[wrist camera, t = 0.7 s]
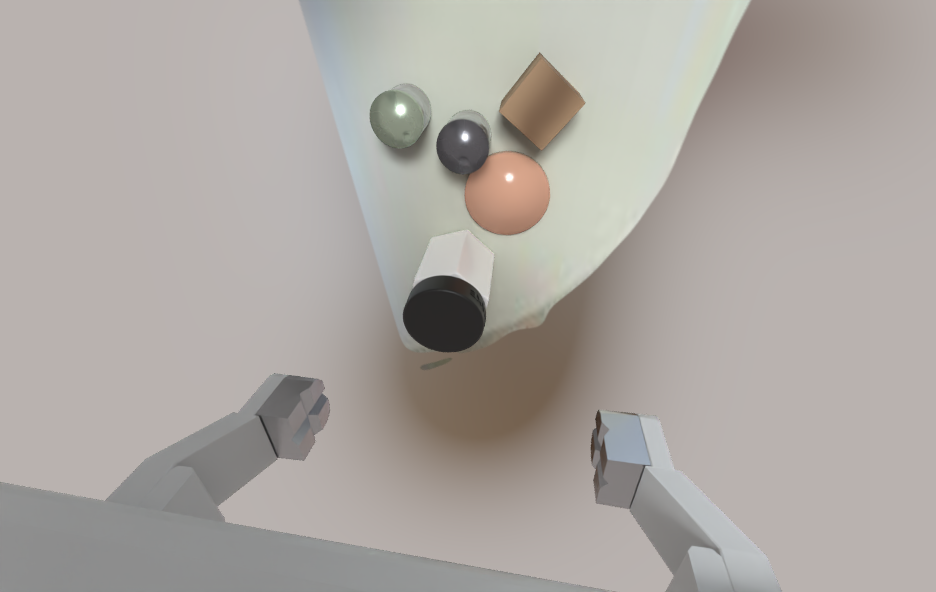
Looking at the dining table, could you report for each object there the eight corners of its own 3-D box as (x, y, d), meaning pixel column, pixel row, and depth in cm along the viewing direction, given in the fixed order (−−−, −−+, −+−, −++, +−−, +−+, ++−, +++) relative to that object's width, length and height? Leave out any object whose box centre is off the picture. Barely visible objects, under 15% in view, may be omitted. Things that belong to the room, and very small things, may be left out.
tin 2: (435, 137, 40) (426, 151, 36) (464, 97, 38) (457, 107, 34) (471, 168, 41) (466, 184, 38) (502, 131, 39) (499, 144, 35)
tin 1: (375, 113, 39) (360, 124, 36) (401, 70, 37) (387, 77, 33) (414, 145, 41) (403, 159, 37) (442, 106, 38) (433, 117, 35)
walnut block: (501, 100, 37) (499, 111, 33) (539, 52, 35) (541, 58, 31) (539, 135, 39) (541, 150, 35) (578, 92, 36) (585, 103, 32)
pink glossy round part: (449, 197, 44) (448, 200, 43) (503, 131, 39) (503, 134, 38) (509, 245, 46) (509, 249, 46) (567, 189, 42) (568, 192, 41)
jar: (482, 297, 51) (472, 364, 42) (421, 280, 51) (397, 344, 41) (501, 238, 46) (495, 299, 36) (433, 219, 45) (409, 276, 36)
